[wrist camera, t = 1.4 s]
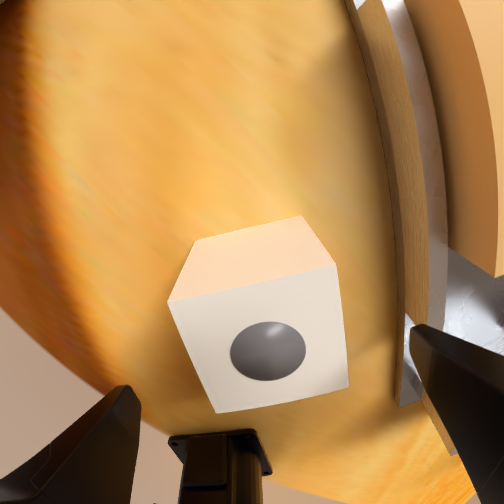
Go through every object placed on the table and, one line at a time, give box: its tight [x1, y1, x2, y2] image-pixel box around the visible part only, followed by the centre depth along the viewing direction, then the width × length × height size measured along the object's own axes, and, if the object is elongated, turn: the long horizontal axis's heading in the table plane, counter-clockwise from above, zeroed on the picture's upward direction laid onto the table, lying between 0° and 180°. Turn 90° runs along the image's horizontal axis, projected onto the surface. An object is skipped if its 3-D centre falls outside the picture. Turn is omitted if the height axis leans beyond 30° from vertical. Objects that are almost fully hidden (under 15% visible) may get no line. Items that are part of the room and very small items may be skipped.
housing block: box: [167, 216, 349, 414], centre depth 13 cm, size 5×5×6 cm
